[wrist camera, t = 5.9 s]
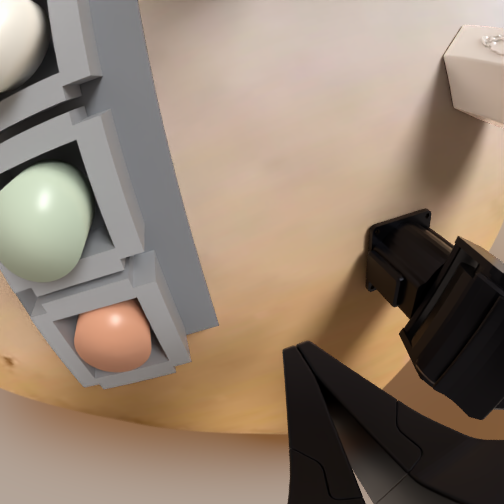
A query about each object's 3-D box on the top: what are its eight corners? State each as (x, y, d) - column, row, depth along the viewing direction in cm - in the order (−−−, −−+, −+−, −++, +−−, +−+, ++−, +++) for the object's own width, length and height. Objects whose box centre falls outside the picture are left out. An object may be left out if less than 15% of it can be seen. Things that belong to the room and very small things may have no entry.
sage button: (77, 144, 12) (59, 162, 9) (108, 231, 14) (100, 266, 12) (-1, 179, 11) (-29, 203, 9) (34, 257, 13) (17, 293, 11)
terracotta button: (133, 274, 17) (133, 308, 15) (158, 327, 20) (162, 362, 17) (68, 293, 17) (59, 328, 14) (99, 343, 19) (97, 378, 17)
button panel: (131, -44, 10) (125, -82, 6) (213, 306, 23) (229, 357, 19) (-53, 44, 8) (-100, 45, 4) (69, 346, 21) (62, 397, 17)
